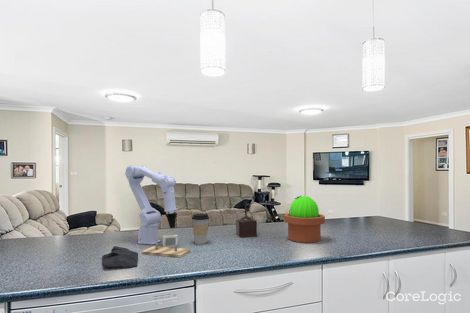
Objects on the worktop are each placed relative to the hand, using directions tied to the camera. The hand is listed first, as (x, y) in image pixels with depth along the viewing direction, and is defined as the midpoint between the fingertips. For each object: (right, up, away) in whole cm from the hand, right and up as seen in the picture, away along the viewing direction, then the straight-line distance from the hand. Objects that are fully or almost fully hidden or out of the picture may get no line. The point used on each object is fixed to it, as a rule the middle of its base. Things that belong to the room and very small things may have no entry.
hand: (172, 227), depth 149 cm
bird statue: (+38, -11, +28) cm, 49 cm away
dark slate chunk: (-17, -9, -25) cm, 31 cm away
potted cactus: (+71, -11, +15) cm, 74 cm away
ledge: (0, -9, -12) cm, 15 cm away
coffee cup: (+14, -10, +7) cm, 18 cm away
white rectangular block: (-1, -10, 0) cm, 10 cm away
